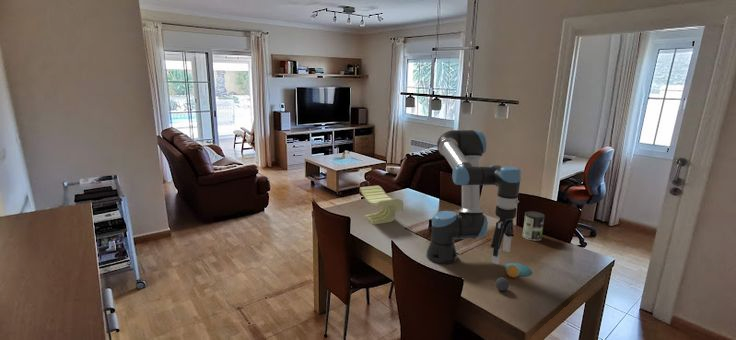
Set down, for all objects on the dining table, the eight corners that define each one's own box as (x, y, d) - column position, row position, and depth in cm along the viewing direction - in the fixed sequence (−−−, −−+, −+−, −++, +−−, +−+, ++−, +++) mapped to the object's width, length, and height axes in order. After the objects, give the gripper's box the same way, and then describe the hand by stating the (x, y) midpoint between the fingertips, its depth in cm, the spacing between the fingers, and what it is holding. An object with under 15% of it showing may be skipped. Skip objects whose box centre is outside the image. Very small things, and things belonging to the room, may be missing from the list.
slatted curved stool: (402, 226, 224) (403, 198, 220) (378, 229, 218) (379, 201, 214) (381, 209, 251) (381, 184, 247) (359, 212, 245) (360, 187, 240)
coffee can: (542, 236, 214) (546, 213, 210) (540, 242, 205) (543, 218, 202) (523, 232, 219) (526, 209, 215) (520, 238, 210) (523, 214, 207)
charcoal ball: (498, 293, 155) (499, 281, 154) (492, 286, 160) (493, 275, 159) (510, 292, 156) (512, 281, 154) (504, 285, 161) (506, 274, 160)
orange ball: (509, 280, 166) (510, 269, 164) (503, 273, 171) (504, 263, 170) (520, 279, 166) (522, 268, 165) (514, 273, 172) (516, 262, 170)
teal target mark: (512, 276, 169) (512, 276, 169) (500, 263, 180) (500, 263, 180) (536, 275, 170) (536, 275, 170) (523, 262, 182) (523, 262, 182)
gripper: (506, 217, 130) (500, 271, 135) (525, 200, 150) (519, 248, 154) (485, 212, 135) (480, 265, 139) (506, 197, 154) (501, 243, 159)
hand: (500, 256), depth 147 cm, fingers open, 13 cm apart
